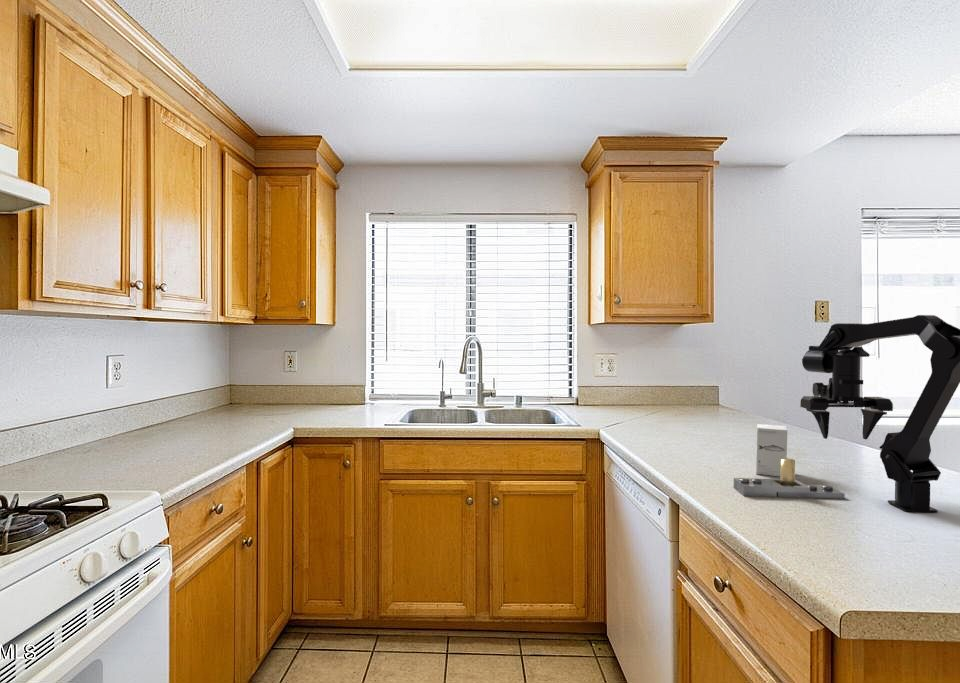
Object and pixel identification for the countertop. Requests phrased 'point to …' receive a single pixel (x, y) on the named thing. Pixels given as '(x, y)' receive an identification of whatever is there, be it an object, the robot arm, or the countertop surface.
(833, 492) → the lower chain end
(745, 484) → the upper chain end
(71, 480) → the countertop surface
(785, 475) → the brass pin
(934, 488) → the countertop surface
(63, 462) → the countertop surface
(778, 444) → the supplement box
